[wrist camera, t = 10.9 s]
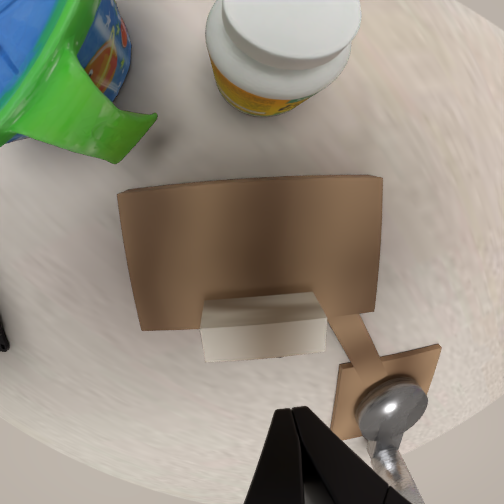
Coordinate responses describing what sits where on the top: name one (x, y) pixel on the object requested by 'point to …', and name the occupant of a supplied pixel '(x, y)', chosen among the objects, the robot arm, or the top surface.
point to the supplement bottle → (278, 50)
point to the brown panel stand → (268, 273)
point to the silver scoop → (391, 430)
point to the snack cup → (67, 77)
